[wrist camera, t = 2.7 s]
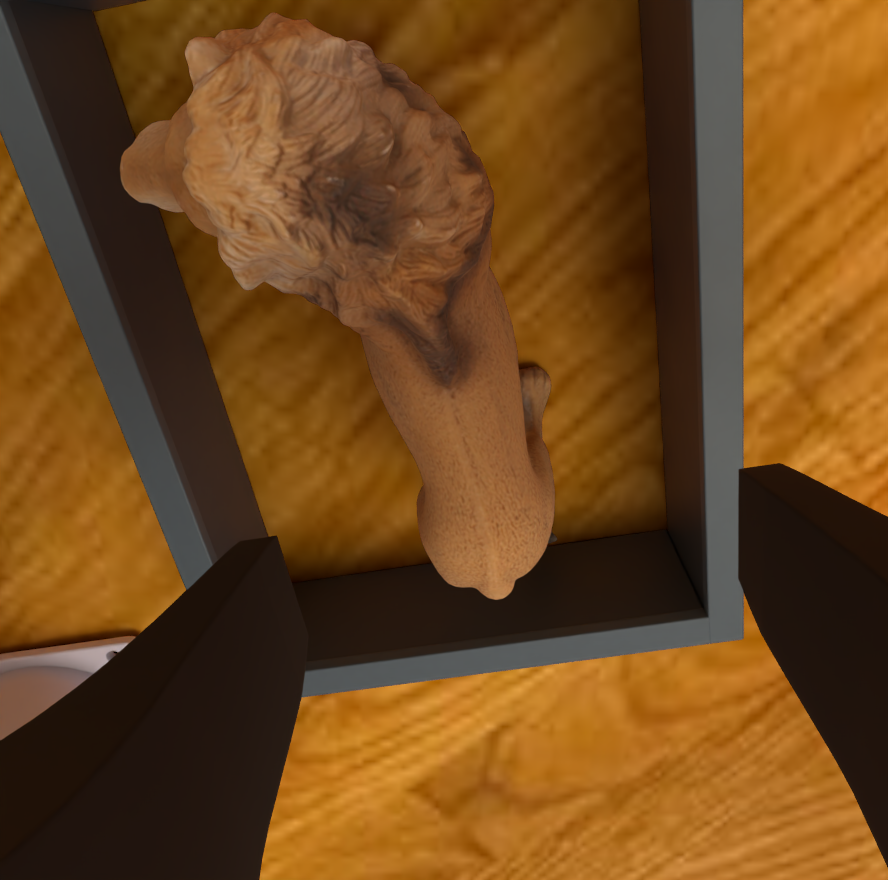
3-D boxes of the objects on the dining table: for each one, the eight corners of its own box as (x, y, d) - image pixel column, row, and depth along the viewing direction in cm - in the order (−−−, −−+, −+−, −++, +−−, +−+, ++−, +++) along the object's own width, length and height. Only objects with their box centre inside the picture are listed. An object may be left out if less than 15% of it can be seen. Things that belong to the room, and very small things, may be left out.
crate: (266, 607, 24) (232, 707, 21) (43, -25, 17) (-75, -50, 13) (696, 546, 23) (744, 639, 20) (671, -161, 16) (744, -233, 12)
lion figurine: (200, 99, 18) (-7, 129, 10) (399, -21, 17) (354, -102, 9) (475, 560, 24) (491, 819, 15) (636, 493, 22) (743, 735, 14)
